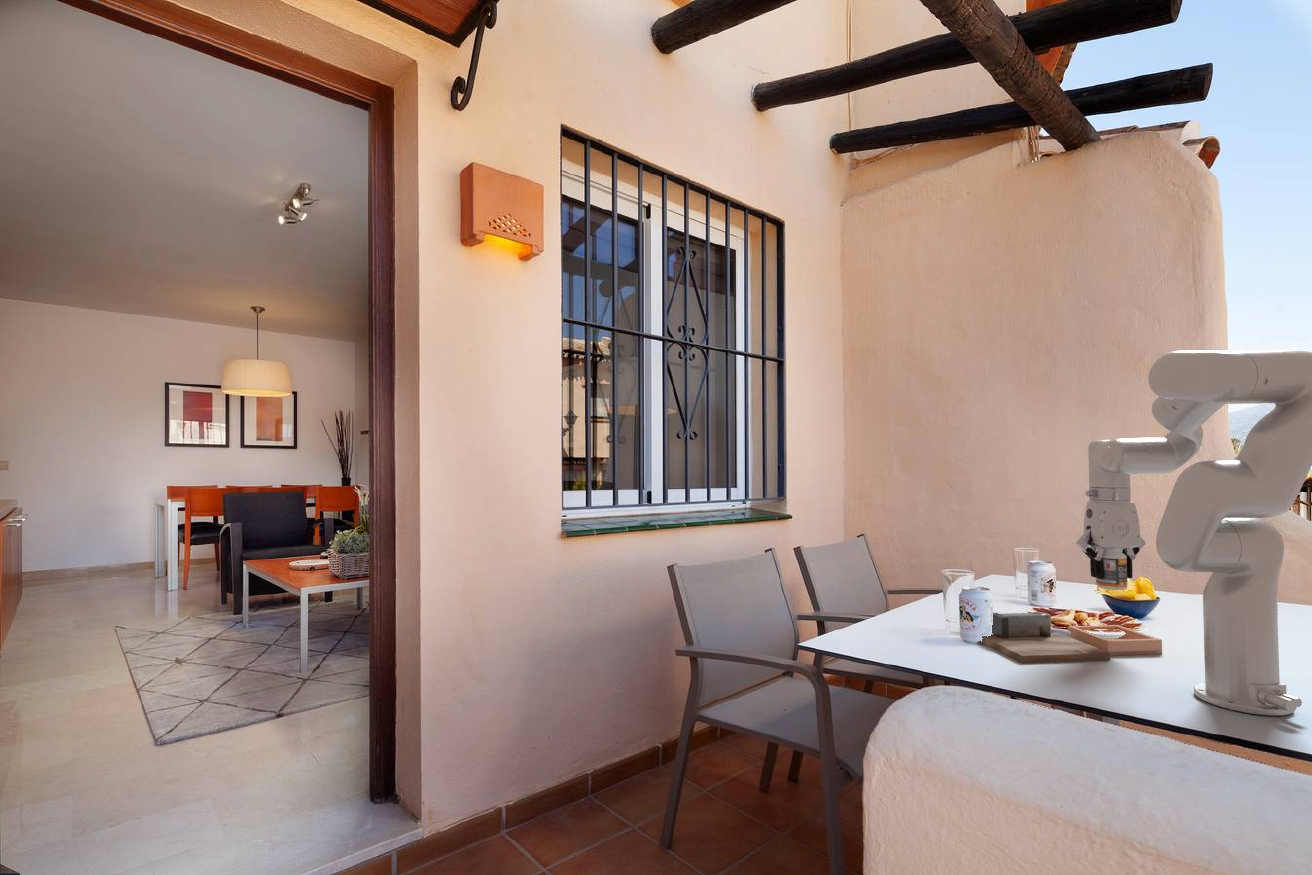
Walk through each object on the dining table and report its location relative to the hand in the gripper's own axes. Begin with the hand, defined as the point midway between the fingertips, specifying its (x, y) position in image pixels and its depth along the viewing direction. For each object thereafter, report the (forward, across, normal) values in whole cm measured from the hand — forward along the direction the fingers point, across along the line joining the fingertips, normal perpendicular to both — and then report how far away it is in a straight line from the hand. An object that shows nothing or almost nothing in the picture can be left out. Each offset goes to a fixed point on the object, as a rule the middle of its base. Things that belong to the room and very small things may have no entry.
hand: (1111, 576), depth 143 cm
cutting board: (+15, -17, -1) cm, 23 cm away
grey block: (+14, -17, +5) cm, 23 cm away
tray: (+15, 0, 0) cm, 15 cm away
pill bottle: (+3, 0, 0) cm, 3 cm away
